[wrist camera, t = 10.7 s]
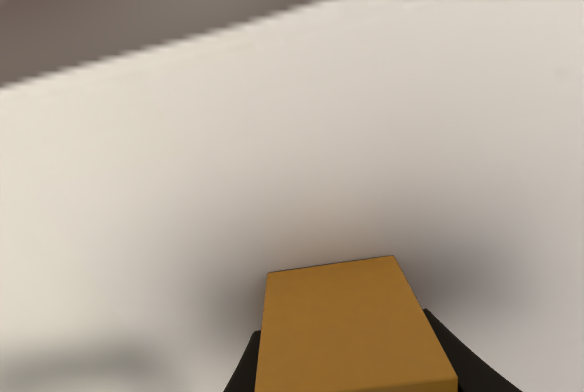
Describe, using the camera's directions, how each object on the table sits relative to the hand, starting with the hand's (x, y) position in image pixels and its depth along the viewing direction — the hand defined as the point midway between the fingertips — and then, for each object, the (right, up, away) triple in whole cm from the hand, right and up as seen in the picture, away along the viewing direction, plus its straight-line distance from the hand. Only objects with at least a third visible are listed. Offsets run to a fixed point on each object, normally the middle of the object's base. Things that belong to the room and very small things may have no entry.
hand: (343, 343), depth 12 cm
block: (0, +1, +1) cm, 1 cm away
